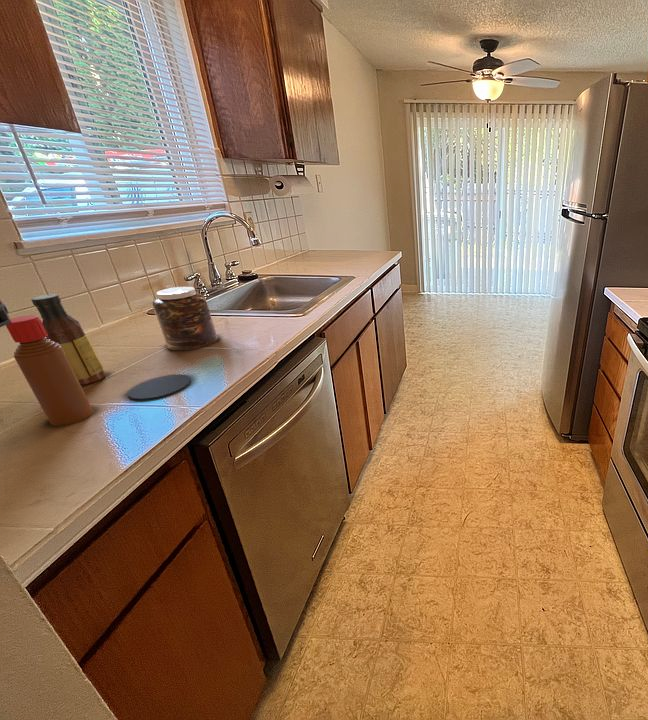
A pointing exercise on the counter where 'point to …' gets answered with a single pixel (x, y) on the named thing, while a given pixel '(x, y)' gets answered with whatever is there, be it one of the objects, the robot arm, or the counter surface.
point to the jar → (184, 318)
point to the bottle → (53, 381)
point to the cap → (26, 328)
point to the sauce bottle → (69, 338)
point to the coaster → (159, 387)
